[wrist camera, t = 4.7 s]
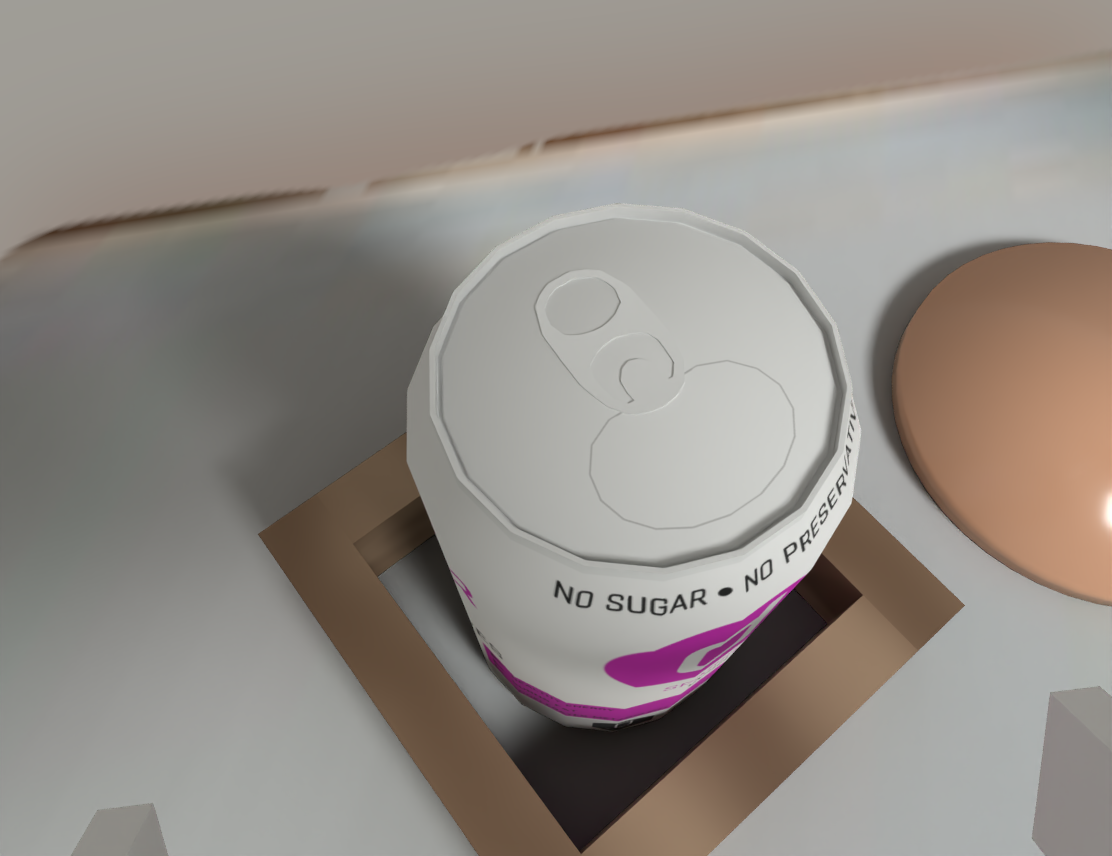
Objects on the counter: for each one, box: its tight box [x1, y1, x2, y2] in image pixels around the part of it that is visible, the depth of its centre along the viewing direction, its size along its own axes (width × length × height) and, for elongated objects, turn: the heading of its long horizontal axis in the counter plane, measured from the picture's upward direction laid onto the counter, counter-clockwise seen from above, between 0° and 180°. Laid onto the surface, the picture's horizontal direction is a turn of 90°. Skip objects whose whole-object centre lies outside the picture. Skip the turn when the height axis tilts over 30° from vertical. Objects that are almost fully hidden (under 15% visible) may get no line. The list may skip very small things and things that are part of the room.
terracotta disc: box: [892, 242, 1112, 606], centre depth 30 cm, size 14×14×1 cm
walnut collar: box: [258, 432, 965, 856], centre depth 26 cm, size 14×14×4 cm
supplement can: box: [407, 203, 862, 732], centre depth 21 cm, size 8×8×15 cm
